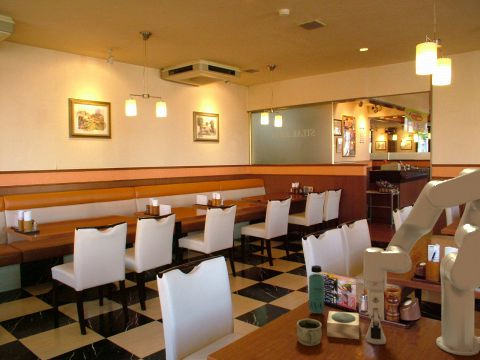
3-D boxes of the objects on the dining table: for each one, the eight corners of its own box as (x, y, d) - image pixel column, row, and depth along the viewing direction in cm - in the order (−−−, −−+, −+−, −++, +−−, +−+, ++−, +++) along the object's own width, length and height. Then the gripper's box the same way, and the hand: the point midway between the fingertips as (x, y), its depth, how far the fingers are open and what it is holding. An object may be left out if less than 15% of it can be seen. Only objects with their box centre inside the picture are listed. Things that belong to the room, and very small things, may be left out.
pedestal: (358, 326, 150) (358, 312, 150) (359, 339, 139) (358, 324, 139) (329, 323, 153) (329, 310, 153) (327, 336, 143) (327, 322, 142)
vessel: (294, 333, 145) (294, 317, 145) (318, 332, 146) (318, 316, 145) (299, 349, 133) (299, 331, 133) (325, 348, 134) (325, 330, 133)
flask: (388, 346, 134) (388, 317, 134) (365, 344, 136) (365, 316, 135) (384, 336, 141) (384, 309, 141) (363, 335, 143) (363, 308, 142)
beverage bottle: (306, 312, 165) (305, 265, 164) (320, 310, 167) (319, 263, 166) (313, 318, 159) (312, 269, 158) (328, 315, 161) (327, 267, 160)
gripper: (388, 293, 128) (388, 345, 129) (384, 277, 145) (384, 323, 146) (364, 291, 130) (364, 343, 131) (363, 276, 147) (363, 321, 148)
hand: (375, 332), depth 138 cm, fingers open, 8 cm apart
